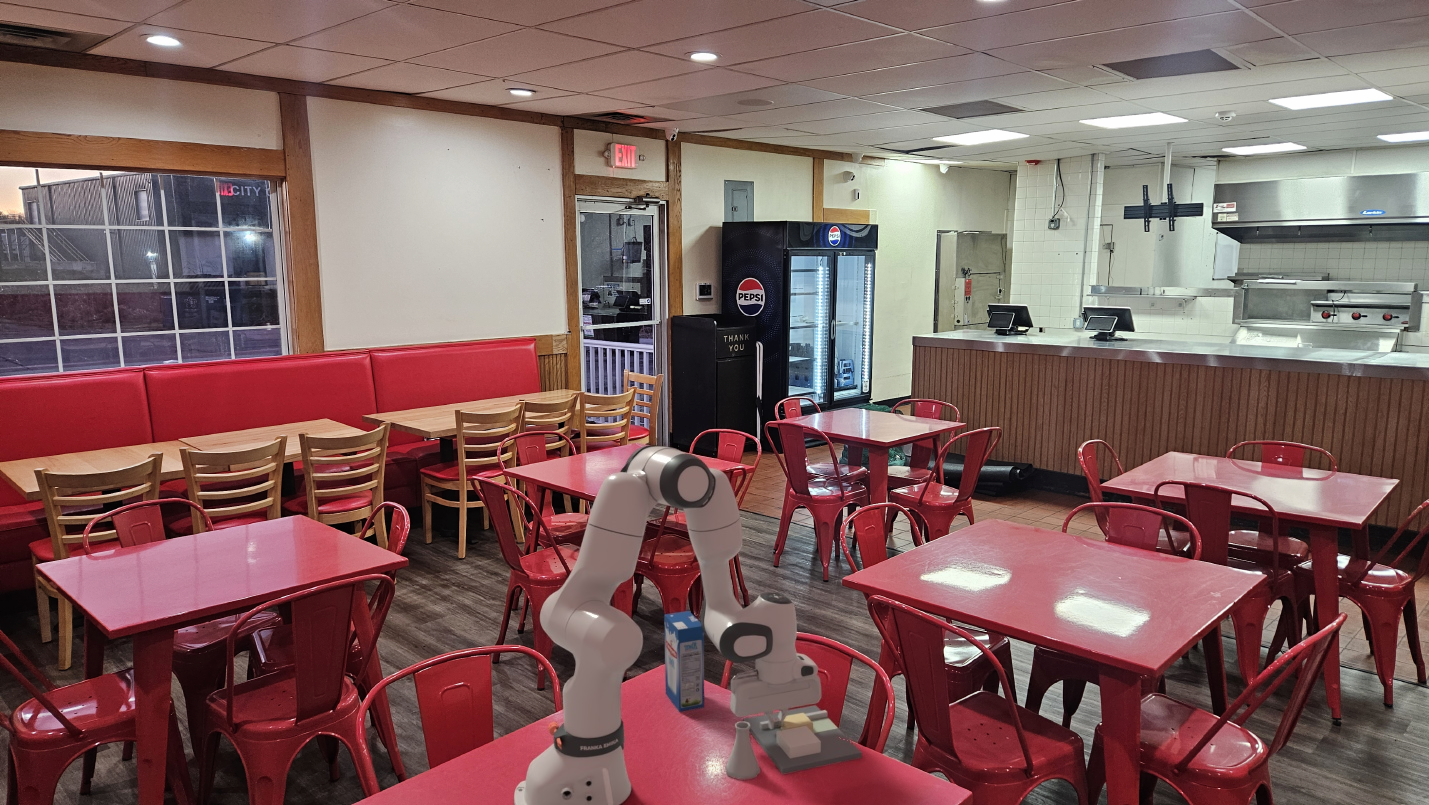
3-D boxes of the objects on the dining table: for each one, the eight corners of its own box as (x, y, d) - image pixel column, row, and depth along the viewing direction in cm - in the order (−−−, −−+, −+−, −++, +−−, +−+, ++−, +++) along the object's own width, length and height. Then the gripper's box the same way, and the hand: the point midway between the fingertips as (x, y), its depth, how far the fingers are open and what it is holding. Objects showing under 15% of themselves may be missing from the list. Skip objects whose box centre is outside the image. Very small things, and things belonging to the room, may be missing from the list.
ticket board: (782, 774, 184) (782, 757, 183) (743, 723, 204) (743, 708, 204) (861, 757, 190) (861, 741, 189) (815, 710, 210) (815, 695, 210)
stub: (787, 736, 195) (787, 728, 195) (778, 725, 200) (778, 717, 200) (813, 731, 197) (813, 723, 197) (803, 721, 202) (803, 712, 202)
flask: (757, 782, 181) (757, 735, 180) (722, 778, 183) (721, 732, 181) (763, 763, 188) (763, 718, 187) (728, 759, 190) (728, 714, 188)
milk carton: (704, 707, 212) (703, 625, 209) (679, 712, 210) (678, 629, 207) (689, 689, 221) (688, 610, 218) (665, 693, 219) (664, 614, 216)
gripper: (735, 680, 189) (736, 742, 191) (824, 665, 196) (824, 725, 198) (725, 668, 195) (725, 728, 197) (812, 654, 202) (811, 712, 204)
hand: (775, 727), depth 198 cm, fingers closed
